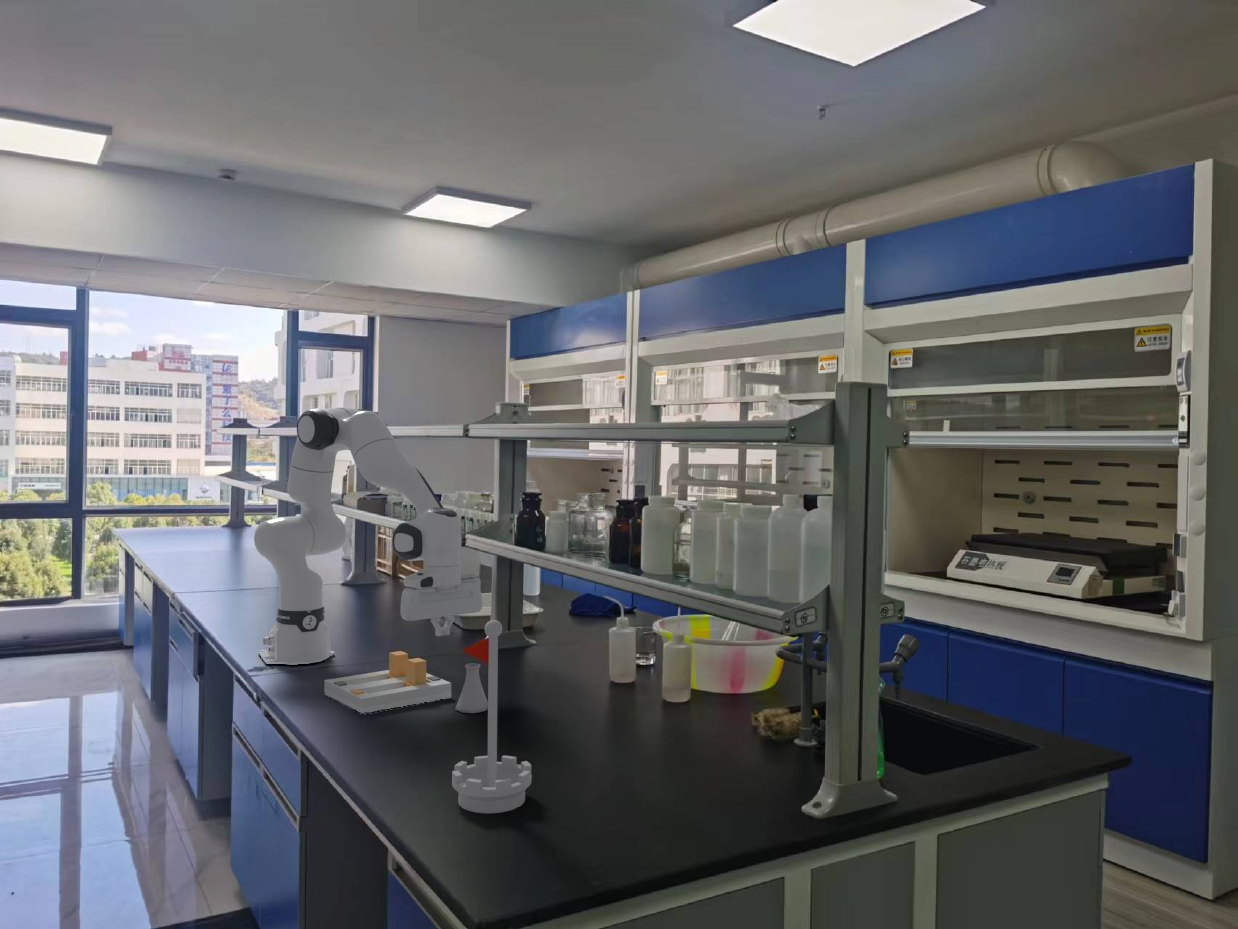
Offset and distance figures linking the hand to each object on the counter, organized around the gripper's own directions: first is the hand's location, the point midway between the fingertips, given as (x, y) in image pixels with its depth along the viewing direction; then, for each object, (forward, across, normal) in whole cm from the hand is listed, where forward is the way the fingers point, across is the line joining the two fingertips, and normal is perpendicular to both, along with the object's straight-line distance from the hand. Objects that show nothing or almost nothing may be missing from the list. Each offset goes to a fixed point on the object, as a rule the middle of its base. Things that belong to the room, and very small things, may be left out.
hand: (442, 635), depth 218 cm
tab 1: (+12, +7, -9) cm, 16 cm away
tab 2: (+12, +7, 0) cm, 13 cm away
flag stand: (+15, +27, +63) cm, 70 cm away
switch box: (+14, +12, -5) cm, 18 cm away
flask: (+14, +2, +16) cm, 21 cm away
